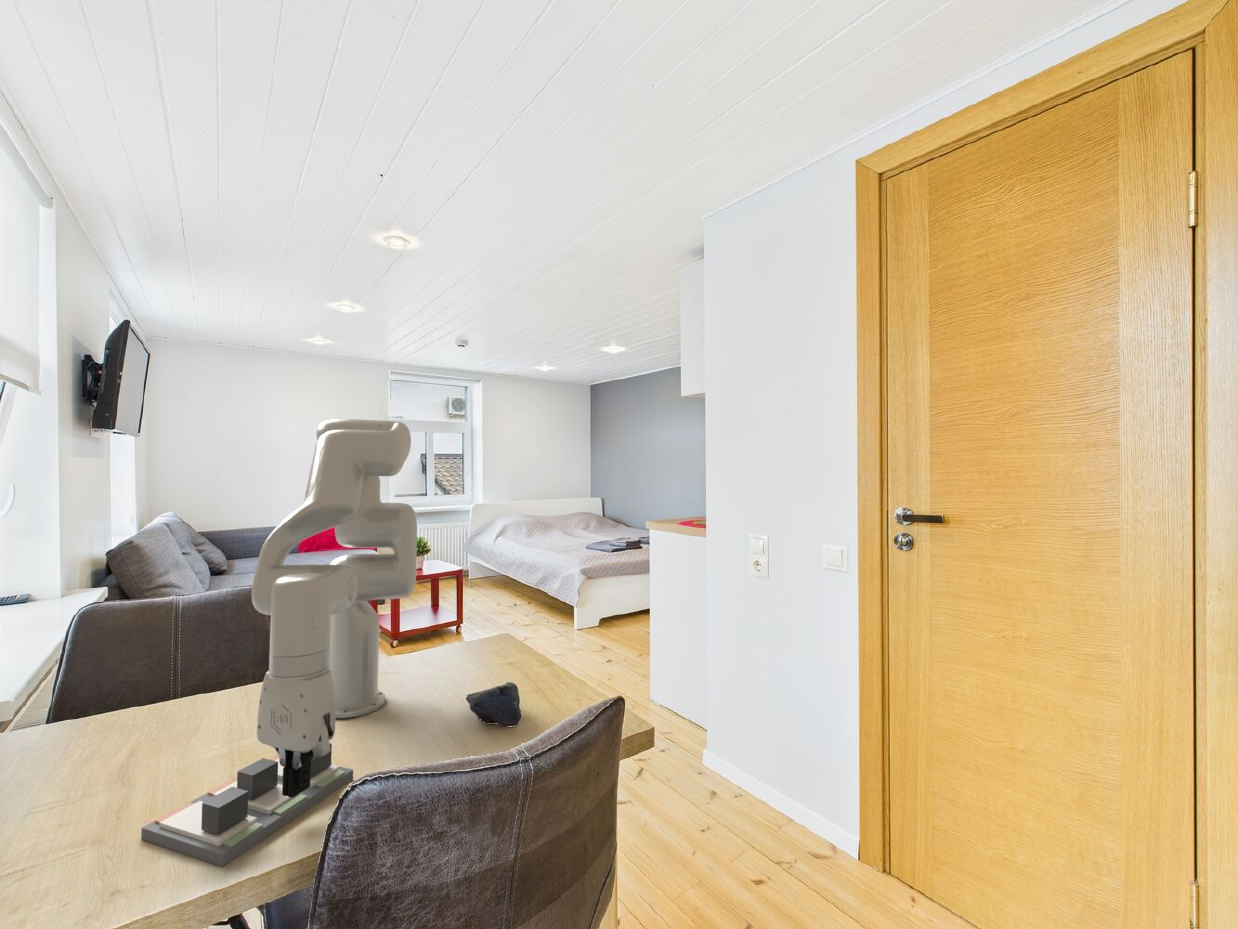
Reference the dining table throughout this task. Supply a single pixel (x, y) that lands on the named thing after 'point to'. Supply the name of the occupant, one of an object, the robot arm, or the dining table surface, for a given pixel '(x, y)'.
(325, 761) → the block
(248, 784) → the block
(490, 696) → the rock
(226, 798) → the block
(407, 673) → the dining table surface
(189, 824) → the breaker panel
